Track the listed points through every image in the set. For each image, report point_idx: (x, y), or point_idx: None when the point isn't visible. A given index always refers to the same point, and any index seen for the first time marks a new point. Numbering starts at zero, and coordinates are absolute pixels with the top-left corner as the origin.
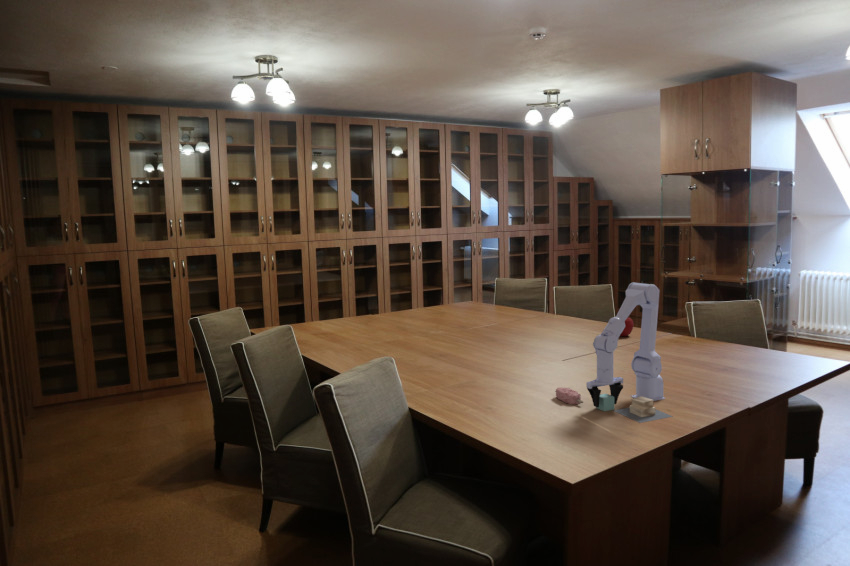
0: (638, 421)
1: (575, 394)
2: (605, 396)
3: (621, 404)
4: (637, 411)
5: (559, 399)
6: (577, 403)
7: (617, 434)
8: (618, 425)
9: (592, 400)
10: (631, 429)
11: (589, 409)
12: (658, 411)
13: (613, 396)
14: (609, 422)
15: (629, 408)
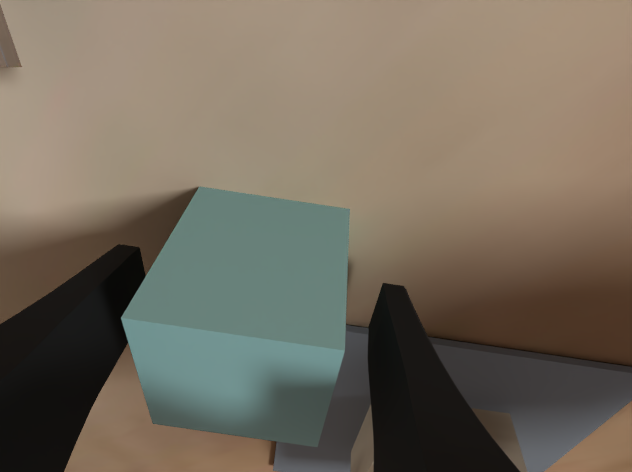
0: (280, 463)
1: None
2: (226, 400)
3: (551, 253)
4: (357, 466)
5: None
6: None
7: (83, 463)
8: (149, 433)
9: (62, 284)
10: (181, 469)
11: (105, 169)
12: (537, 461)
13: (384, 388)
14: (123, 399)
15: (456, 361)
